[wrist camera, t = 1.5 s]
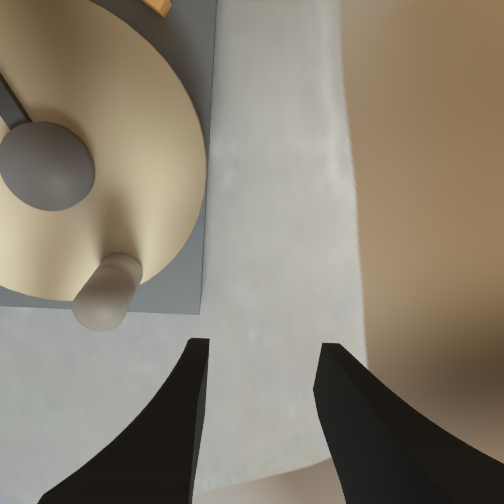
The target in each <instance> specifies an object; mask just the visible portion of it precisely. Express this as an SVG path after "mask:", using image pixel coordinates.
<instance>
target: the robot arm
mask: <svg viewBox="0 0 504 504" xmlns="http://www.w3.org/2000/svg"><path fill="white" fill-rule="evenodd" d="M208 357H209V339H205V338H191V339H189V340H188V342H187V344H186V347H185V349H184V351H183V353H182V355H181V357H180V359H179V360H178V362H177V364H176V366H175V367H174V369H173V370H172V372H171V373H170V375H169V377H168V378H167V380H166V381H165V382H164V384H163V385H162V386H161V388H160V389H159V390H158V392H157V393H156V395H155V396H154V397H153V398H152V400H151V401H150V402H149V403H148V405H147V406H146V407H145V408H144V409H143V410H142V411H141V413H140V414H139V415H138V416H137V417H136V418H135V419H134V420H133V421H132V422H131V423H130V424H129V425H128V426H127V427H126V428H125V429H124V430H123V431H122V432H121V433H120V434H119V435H118V436H117V437H116V438H115V439H114V440H113V441H112V442H111V443H110V444H109V445H107V446H106V447H105V448H104V449H103V450H101V451H100V452H99V453H98V454H97V455H96V456H94V457H93V458H92V459H91V460H90V461H88V462H87V463H86V464H85V465H84V466H82V467H81V468H80V469H78V470H77V471H76V472H74V473H73V474H72V475H70V476H69V477H67V478H66V479H65V480H63V481H62V482H60V483H59V484H58V485H56V486H55V487H54V488H52V489H51V490H49V491H48V492H46V493H45V494H43V496H42V497H41V499H40V500H39V502H38V503H37V504H192V496H193V488H194V480H195V474H196V467H197V461H198V455H199V448H200V442H201V436H202V429H203V423H204V416H205V402H206V387H207V372H208ZM313 392H314V397H315V402H316V407H317V412H318V417H319V420H320V423H321V426H322V429H323V432H324V435H325V438H326V441H327V444H328V447H329V450H330V453H331V456H332V459H333V462H334V465H335V468H336V470H337V473H338V476H339V479H340V483H341V486H342V489H343V493H344V496H345V500H346V504H504V464H503V463H501V462H499V461H497V460H495V459H493V458H492V457H490V456H488V455H486V454H484V453H482V452H480V451H479V450H477V449H475V448H473V447H472V446H470V445H468V444H466V443H465V442H463V441H461V440H460V439H458V438H456V437H455V436H453V435H451V434H450V433H448V432H447V431H445V430H444V429H442V428H441V427H439V426H438V425H436V424H435V423H433V422H432V421H430V420H429V419H427V418H426V417H425V416H423V415H422V414H420V413H419V412H417V411H416V410H415V409H413V408H412V407H411V406H409V405H408V404H407V403H406V402H404V401H403V400H402V399H401V398H400V397H398V396H397V395H396V394H395V393H393V392H392V391H391V390H390V389H389V388H387V387H386V386H385V385H384V384H383V383H381V381H380V380H378V379H377V378H376V377H375V376H374V375H373V374H372V373H371V372H370V371H369V370H367V369H366V368H365V367H364V366H363V365H362V364H361V363H360V362H359V361H358V360H357V359H356V358H355V357H354V356H353V355H352V354H350V353H349V352H348V351H347V350H346V349H345V348H344V347H343V346H342V345H341V344H338V343H322V348H321V353H320V357H319V362H318V367H317V372H316V377H315V382H314V387H313Z"/></svg>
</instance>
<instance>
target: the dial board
mask: <svg viewBox="0 0 504 504" xmlns="http://www.w3.org/2000/svg"><path fill="white" fill-rule="evenodd" d="M88 1H90V2H92V3H94V4H96V5H98V6H100V7H102V8H104V9H106V10H107V11H109V12H110V13H112V14H113V15H115V16H116V17H118V18H119V19H121V20H122V21H124V22H125V23H127V24H128V25H129V26H130V27H131V28H133V29H134V30H135V31H136V32H137V33H138V34H140V35H141V36H142V37H143V38H144V39H145V40H147V41H148V42H149V43H150V44H151V45H152V46H153V47H154V48H155V49H156V50H157V51H158V52H159V53H160V54H161V55H162V56H163V58H164V59H165V60H166V61H167V62H168V63H169V65H170V66H171V67H172V69H173V70H174V72H175V73H176V74H177V76H178V77H179V78H180V80H181V82H182V83H183V85H184V87H185V89H186V91H187V92H188V94H189V96H190V98H191V100H192V102H193V105H194V107H195V110H196V112H197V115H198V117H199V121H200V124H201V128H202V132H203V135H204V141H205V148H206V157H207V175H206V184H205V192H204V197H203V201H202V205H201V208H200V212H199V216H198V218H197V221H196V223H195V226H194V228H193V230H192V233H191V234H190V236H189V238H188V239H187V241H186V243H185V244H184V246H183V247H182V249H181V250H180V251H179V253H178V254H177V255H176V256H175V258H174V259H173V260H172V261H171V262H170V263H169V264H168V265H167V266H166V267H165V268H163V269H162V270H161V271H160V272H159V273H157V274H156V275H155V276H153V277H152V278H150V279H149V280H148V281H146V282H144V283H142V284H140V285H139V287H138V289H137V291H136V293H135V295H134V298H133V300H132V302H131V304H130V306H129V309H128V311H127V312H147V313H169V314H192V315H199V314H200V304H201V289H202V270H203V251H204V233H205V214H206V195H207V177H208V158H209V139H210V121H211V102H212V83H213V65H214V46H215V27H216V8H217V0H88ZM72 304H73V301H61V300H51V299H44V298H39V297H34V296H30V295H26V294H23V293H20V292H16V291H13V290H10V289H8V288H5V287H3V286H1V285H0V306H11V307H34V308H57V309H72Z"/></svg>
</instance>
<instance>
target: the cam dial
mask: <svg viewBox="0 0 504 504" xmlns="http://www.w3.org/2000/svg"><path fill="white" fill-rule="evenodd" d="M206 175H207V157H206V148H205V141H204V135H203V132H202V128H201V124H200V121H199V117H198V115H197V112H196V110H195V107H194V105H193V102H192V100H191V98H190V96H189V94H188V92H187V91H186V89H185V87H184V85H183V83H182V82H181V80H180V78H179V77H178V76H177V74H176V73H175V72H174V70H173V69H172V67H171V66H170V65H169V63H168V62H167V61H166V60H165V59H164V58H163V56H162V55H161V54H160V53H159V52H158V51H157V50H156V49H155V48H154V47H153V46H152V45H151V44H150V43H149V42H148V41H147V40H145V39H144V38H143V37H142V36H141V35H140V34H138V33H137V32H136V31H135V30H134V29H133V28H131V27H130V26H129V25H128V24H127V23H125V22H124V21H122V20H121V19H119V18H118V17H116V16H115V15H113V14H112V13H110V12H109V11H107V10H106V9H104V8H102V7H100V6H98V5H96V4H94V3H92V2H90V1H88V0H0V285H1V286H3V287H5V288H8V289H10V290H13V291H16V292H20V293H23V294H26V295H30V296H34V297H39V298H44V299H51V300H61V301H73V304H72V310H73V314H74V316H75V318H76V319H77V320H78V322H79V323H80V324H82V325H83V326H84V327H86V328H88V329H91V330H94V331H109V330H112V329H114V328H116V327H117V326H119V325H120V324H121V323H122V321H123V319H124V317H125V315H126V313H127V311H128V309H129V306H130V304H131V302H132V300H133V298H134V295H135V293H136V291H137V289H138V287H139V285H140V284H142V283H144V282H146V281H148V280H149V279H150V278H152V277H153V276H155V275H156V274H157V273H159V272H160V271H161V270H162V269H163V268H165V267H166V266H167V265H168V264H169V263H170V262H171V261H172V260H173V259H174V258H175V256H176V255H177V254H178V253H179V251H180V250H181V249H182V247H183V246H184V244H185V243H186V241H187V239H188V238H189V236H190V234H191V233H192V230H193V228H194V226H195V223H196V221H197V218H198V216H199V212H200V208H201V205H202V201H203V197H204V192H205V184H206Z"/></svg>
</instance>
